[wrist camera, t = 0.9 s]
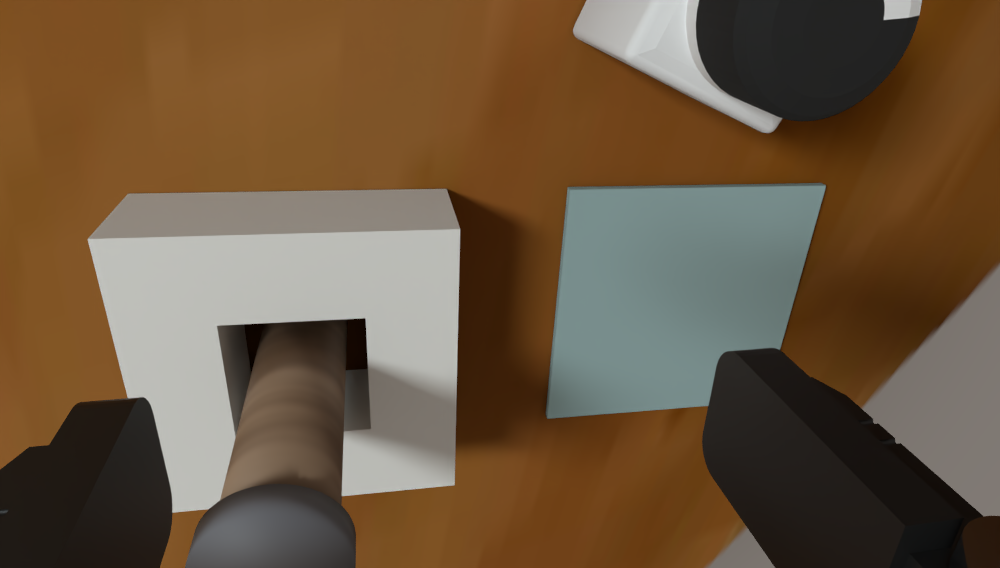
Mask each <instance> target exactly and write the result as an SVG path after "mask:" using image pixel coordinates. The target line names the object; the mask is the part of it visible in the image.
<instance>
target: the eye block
mask: <svg viewBox="0 0 1000 568" xmlns="http://www.w3.org/2000/svg"><path fill="white" fill-rule="evenodd" d="M88 242H89V246H90V250H91V254H92V258H93V262H94V266H95V270H96V274H97V278H98V282H99V286H100V290H101V294H102V298H103V302H104V305H105V309H106V313H107V317H108V321H109V325H110V329H111V333H112V337H113V341H114V345H115V349H116V353H117V357H118V361H119V365H120V369H121V373H122V377H123V381H124V385H125V389H126V392H127V396H128V398H139V397H144V398H146V399H147V400H148V401H149V403H150V405H151V408H152V411H153V414H154V419H155V423H156V427H157V431H158V436H159V440H160V444H161V449H162V453H163V457H164V462H165V466H166V470H167V474H168V479H169V483H170V488H171V493H172V513H173V512H183V511H193V510H204V509H210V508H211V507H212V506H213V505H215V504H216V503H217V502H218V501H220V498H221V494H222V490H223V486H224V482H225V478H226V474H227V470H228V466H229V462H230V458H231V454H232V450H233V446H234V442H235V438H236V434H237V430H238V426H239V422H240V418H241V414H242V410H243V406H244V402H245V398H246V394H247V390H248V386H249V381H250V377H251V368H250V361H249V355H248V348H247V341H246V334H245V327H244V324H261V323H281V322H301V321H321V320H341V319H361V318H365V319H366V339H367V358H368V369H358V370H346V381H345V411H344V440H343V470H342V496H348V495H358V494H369V493H379V492H389V491H400V490H410V489H420V488H431V487H441V486H451V485H455V443H456V398H457V353H458V308H459V263H460V227H459V224H458V221H457V218H456V215H455V212H454V209H453V206H452V203H451V200H450V197H449V195H448V192H447V189H406V190H341V191H275V192H210V193H144V194H127V196H126V197H125V198H124V199H123V200H122V201H121V202H120V203H119V205H118V206H117V207H116V208H115V209H114V210H113V211H112V212H111V214H110V215H109V216H108V217H107V218H106V219H105V220H104V221H103V222H102V224H101V225H100V226H99V227H98V228H97V229H96V230H95V231H94V233H93V234H92V235H91V236H90V237H89V238H88Z"/></svg>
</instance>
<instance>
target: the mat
mask: <svg viewBox="0 0 1000 568" xmlns="http://www.w3.org/2000/svg"><path fill="white" fill-rule="evenodd" d="M825 188H826V185H824V184H822V183H799V184H734V185H668V186H603V187H568V191H567V201H566V211H565V221H564V232H563V242H562V252H561V262H560V272H559V283H558V293H557V303H556V313H555V323H554V334H553V344H552V354H551V364H550V374H549V384H548V395H547V405H546V417H547V419H549V418H561V417H574V416H586V415H598V414H611V413H623V412H636V411H648V410H660V409H673V408H685V407H698V406H709V401H710V396H711V391H712V386H713V381H714V376H715V371H716V366H717V362H718V360H719V358H720V357H721V355H722V354H723V353H725V352H727V351H737V350H750V349H762V348H776V349H779V350H780V348H781V344H782V341H783V337H784V334H785V330H786V327H787V323H788V320H789V316H790V313H791V309H792V305H793V302H794V298H795V295H796V291H797V288H798V284H799V281H800V277H801V273H802V270H803V266H804V263H805V259H806V256H807V252H808V249H809V245H810V242H811V238H812V234H813V231H814V227H815V224H816V220H817V217H818V213H819V210H820V206H821V202H822V199H823V195H824V192H825Z"/></svg>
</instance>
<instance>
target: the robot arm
mask: <svg viewBox="0 0 1000 568" xmlns="http://www.w3.org/2000/svg"><path fill="white" fill-rule="evenodd" d="M702 443H703V453H704V458H705V462H706V465H707V467H708V470H709V472H710V474H711V476H712V477H713V479H714V480H715V482H716V483H717V485H718V486H719V487H720V489H721V490H722V492H723V493H724V495H725V496H726V498H727V499H728V500H729V502H730V503H731V505H732V506H733V508H734V509H735V510H736V512H737V513H738V515H739V516H740V518H741V519H742V521H743V522H744V523H745V525H746V526H747V528H748V529H749V531H750V532H751V533H752V535H753V536H754V538H755V539H756V541H757V542H758V543H759V545H760V546H761V548H762V549H763V551H764V552H765V553H766V555H767V556H768V558H769V559H770V561H771V562H772V564H773V565H774V566H775V568H1000V516H985V517H983V516H982V515H981V514H980V513H979V512H978V511H977V510H976V509H975V508H973V507H972V506H971V505H970V504H969V503H968V502H967V501H965V500H964V499H963V498H962V497H961V496H960V495H959V494H958V493H956V492H955V491H954V490H953V489H952V488H951V487H950V486H948V485H947V484H946V483H945V482H944V481H943V480H942V479H941V478H939V477H938V476H937V475H936V474H934V472H933V471H931V470H930V469H929V468H928V467H927V466H926V465H925V464H923V463H922V462H921V461H920V460H919V459H918V458H917V457H916V456H914V455H913V454H912V453H911V452H910V451H909V450H908V449H906V448H905V447H904V446H903V445H902V444H901V443H900V444H896V443H895V438H894V437H893V436H892V435H891V434H889V433H888V432H887V431H886V430H885V429H884V428H883V427H881V426H880V425H879V424H874V423H873V419H872V418H871V417H870V416H869V415H868V414H867V413H866V412H864V411H863V410H862V409H861V408H860V407H859V406H858V405H857V404H855V403H854V402H853V401H852V400H851V399H850V398H849V397H847V396H846V395H844V394H842V393H840V392H839V391H837V390H835V389H833V388H831V387H829V386H827V385H826V384H824V383H822V382H820V381H818V380H816V379H814V378H813V377H809V376H808V375H807V374H806V373H805V372H804V371H803V370H802V369H800V368H799V367H798V366H797V365H796V364H795V363H794V362H793V361H792V360H791V359H789V358H788V357H787V356H786V355H785V354H784V353H783V352H782V351H780V350H779V349H776V348H762V349H750V350H737V351H727V352H725V353H723V354H722V355H721V357H720V358H719V360H718V362H717V366H716V371H715V376H714V381H713V386H712V391H711V396H710V401H709V406H708V411H707V416H706V421H705V426H704V431H703V440H702ZM171 524H172V493H171V488H170V483H169V479H168V474H167V470H166V466H165V462H164V457H163V453H162V449H161V444H160V440H159V436H158V431H157V427H156V423H155V419H154V414H153V411H152V408H151V405H150V403H149V401H148V400H147V399H146V398H144V397H139V398H127V399H114V400H102V401H90V402H80V403H77V404H76V405H75V406H74V407H73V408H72V410H71V411H70V413H69V414H68V416H67V418H66V419H65V421H64V422H63V424H62V426H61V427H60V429H59V430H58V432H57V434H56V435H55V437H54V438H53V440H52V442H51V443H50V445H47V446H36V447H29V448H28V449H26V450H25V451H24V452H22V453H21V454H20V455H19V456H17V457H16V458H15V459H13V460H12V461H11V462H10V463H8V464H7V465H6V466H4V467H3V468H2V469H1V470H0V568H160V565H161V562H162V558H163V555H164V552H165V549H166V546H167V543H168V539H169V536H170V531H171Z"/></svg>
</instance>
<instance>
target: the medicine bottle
mask: <svg viewBox="0 0 1000 568" xmlns="http://www.w3.org/2000/svg"><path fill="white" fill-rule="evenodd" d="M921 3H922V0H587V1H586V3H585V5H584V7H583V9H582V11H581V13H580V15H579V17H578V19H577V21H576V23H575V26H574V29H573V33H574V36H575V37H576V38H577V39H579V40H581V41H583V42H585V43H587V44H589V45H591V46H593V47H595V48H597V49H598V50H600V51H602V52H604V53H606V54H608V55H610V56H612V57H614V58H616V59H618V60H620V61H622V62H624V63H626V64H627V65H629V66H631V67H633V68H635V69H637V70H639V71H641V72H643V73H645V74H647V75H649V76H651V77H653V78H655V79H657V80H658V81H660V82H662V83H664V84H666V85H668V86H670V87H672V88H674V89H676V90H678V91H680V92H682V93H684V94H686V95H687V96H689V97H691V98H693V99H695V100H697V101H699V102H702V103H704V104H706V105H708V106H710V107H712V108H714V109H716V110H718V111H720V112H722V113H724V114H726V115H728V116H730V117H732V118H734V119H736V120H738V121H740V122H742V123H744V124H746V125H748V126H750V127H752V128H754V129H756V130H758V131H760V132H763V133H770V132H773V131H774V130H775V129H776V128H777V126H778V125H779V123H780V121H781V120H782V118H784V119H787V120H794V121H814V120H819V119H824V118H827V117H830V116H833V115H836V114H838V113H840V112H843V111H845V110H847V109H849V108H850V107H852V106H854V105H855V104H857V103H858V102H860V101H861V100H863V99H864V98H865V97H866V96H868V95H869V94H870V93H871V92H872V91H874V90H875V89H876V88H877V87H878V86H879V85H880V84H881V83H882V82H883V81H884V80H885V78H886V77H887V76H888V75H889V74H890V72H891V71H892V70H893V69H894V68H895V66H896V65H897V63H898V62H899V60H900V59H901V57H902V56H903V54H904V52H905V50H906V48H907V47H908V45H909V43H910V40H911V38H912V36H913V33H914V31H915V28H916V25H917V21H918V18H919V14H920V9H921Z"/></svg>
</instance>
